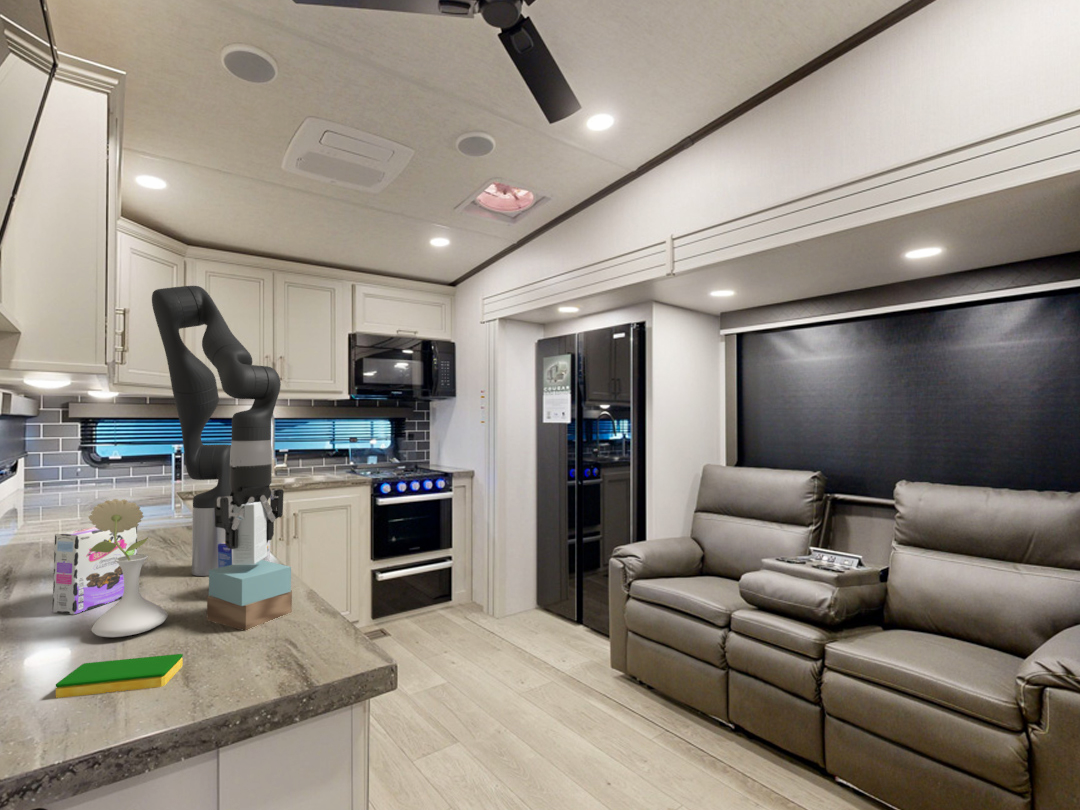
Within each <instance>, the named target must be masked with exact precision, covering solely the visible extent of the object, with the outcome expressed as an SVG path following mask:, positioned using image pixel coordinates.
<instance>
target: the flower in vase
mask: <svg viewBox="0 0 1080 810" xmlns="http://www.w3.org/2000/svg"><path fill="white" fill-rule="evenodd" d="M90 514H91V515H89V516H88V519H89V521H91V524H92V525H94V527H96V528H97V529H99V530H102V531H108V530H110V532H111V533H114V541H115V543H111V542H106V541H102V542H100V543H98V544H96V545H95V546H94V547H93V548H92V549H91V550H90V551H93V552H111V551H112V550H113V549H114V548H115V547H116V545H117V546H118V548H119V549H120V550H121V551H122V552H123V553H124V555H125V556H123V557H120V558H117V559H115V561H116V562H117V563H118V564H119V565H120V567H121V569H122V572H123V577H124V593H123V596H122V598H121V599H119V601H118V602H117V603H116V604H114V605H113V607H111V608H110V609H108V610H107V611H106V612H105V613H103V614H102V615H101V616H100V617H99V618H98V619H97V620H96V621H95V622H94V623H93V626H92V627H91V632H92V633H93V634H94V635H95V636H98V637H101V638H102V637H103V638H121V637H127V636H132V635H137V634H141V633H145V632H148V631H150V630H153V629H154V628H156V627H158V626H160V625H162V624H163V623H164V622H166V619H167V618H168V613H167V611H166V610H165V608H162V606H160V605H158V604H156V603H155V602H152V601H150V600H148V599H146V598H145V597H143V595H141V593H140V575H141V570H142V567H143V565H144V563H145V561H146V560H147V559H148V557H149V555H148V554H141V553H140V554H139V553H137V555H127V553H126V552H127V551H131V550H134V549H136V548H137V549H138V548H140V547H141V546H143V545H144V544H145V543H147V541H148V540H149V536H147V537H145V538H144V539H142V540H139V541H138V540H137V542H136V543H134V544H132V545H131V546H130V547H129V548H128V549H127V550H126V551H124V550H123V549H122V548H121V547H120V545H119V544H118V542H117V540H116V533H119V532H124V530H130V529H131V528H134V527H137V528H138V527H139V526H140V524H139V523H141V522H142V519H143V518H144V517H145V516H144V515H143V514H144V512H143V511H142V510H141V507H140V506H139V505H137V503H136V502H128V499H126V498H125V499H121V500H119V499H117V498H114V499H112V500H110V499H108V500H107V499H106V500H104V502H102V503H98V504H97V505H96V506H93V509H92V510H91V512H90Z"/></svg>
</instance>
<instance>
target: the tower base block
mask: <svg viewBox="0 0 1080 810" xmlns="http://www.w3.org/2000/svg"><path fill="white" fill-rule="evenodd" d="M292 602H293V592H292V589H291V592H288V593H284V594H281V595H277V596H274V597H271V598H267V599H264V600H261V601H257V602H254V603H251V604H247V605H244V606H240V605H237V604H234V603H231V602H228V601H225V600H222V599H219V598H216V597H213V596H210V595H208V596H206V621H208V622H211V621H212V623H215V622H216V624H220V625H222V624H223V625H224V626H226V627H230V628H234V629H238V630H241V629H243V630H242V631H244V630H247V631H249V630H248V629H250V628H252V627H255V626H257V625H260V624H263V623H265V622H268V621H270V620H273V619H275V618H278V617H280V616H283V615H286V614H288V613H291V612H292V613H293V611H292V610H293V609H292V607H293V606H292V604H293V603H292ZM286 616H287V615H286ZM278 619H279V618H278ZM273 621H274V620H273ZM268 623H269V622H268ZM265 624H266V623H265ZM263 625H264V624H263ZM260 626H261V625H260ZM257 627H258V626H257ZM255 628H256V627H255ZM252 629H253V628H252ZM250 630H251V629H250Z"/></svg>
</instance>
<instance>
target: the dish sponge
mask: <svg viewBox="0 0 1080 810" xmlns="http://www.w3.org/2000/svg"><path fill="white" fill-rule="evenodd" d="M183 656H184V655H183V653H177V654H176V653H175V654H166V655H165V654H164V655H157V656H156V655H154V656H144V657H136V658H135V657H134V658H125V659H116V660H115V659H114V660H104V661H92V662H84V663H82V664H81V665H80V666H78V667H77V668H75V669H74V670H72V671H71V672H70V673H69V674H67V675H66V676H65V677H63V678H61V680H59V681H58V682H57V683H56V684H55V698H56V699H61V698H62V699H63V697H64V698H72V697H80V696H87V695H88V696H89V695H99V694H107V693H106V692H109V693H117V692H116V691H119V692H124V691H125V692H126V690H128V691H135V690H144V689H145V690H146V689H153V688H154V689H155V688H162V687H165V686H166V685H167V683H169V682H170V680H172V678H174V676H175V675H176V674H178V672H179V671H180V670H181V668H182V667H183V663H184V662H183V660H184V659H183Z"/></svg>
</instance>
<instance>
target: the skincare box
mask: <svg viewBox="0 0 1080 810" xmlns="http://www.w3.org/2000/svg"><path fill="white" fill-rule="evenodd" d="M243 506H245V517H244V519H242V520H241V521H240V523H239V525H238V527H237V530H238V548H236V549H233V564H234V565H252V564H255V563H257V562H259V561H260V560H262V559H263V558H265V557H266V556H267V516H266V514H265V511H264V508H263V506H262V503H261V502H253V503H251V504H246V505H245V504H242V505H241V506H240V507H237V505H236V504H234V505H233V514H234V513H239V512H240V510H241V508H242V507H243ZM243 513H244V512H243ZM234 518H235V517H233V520H234Z"/></svg>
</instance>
